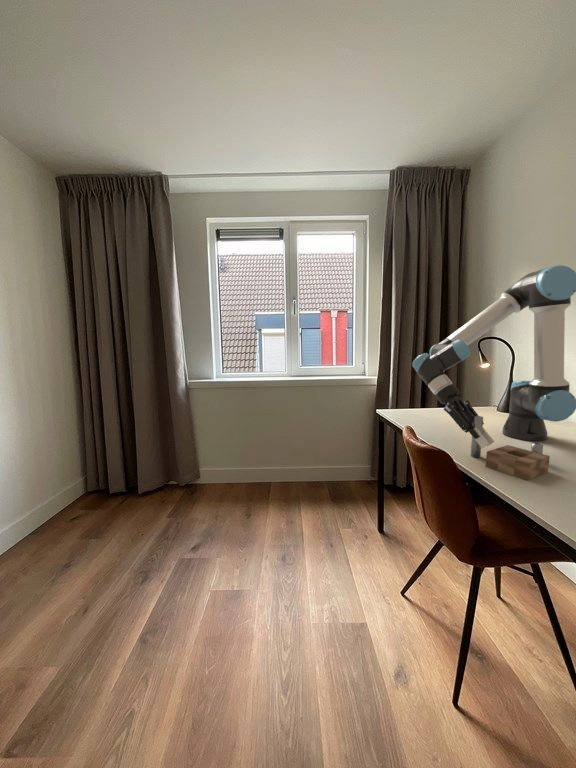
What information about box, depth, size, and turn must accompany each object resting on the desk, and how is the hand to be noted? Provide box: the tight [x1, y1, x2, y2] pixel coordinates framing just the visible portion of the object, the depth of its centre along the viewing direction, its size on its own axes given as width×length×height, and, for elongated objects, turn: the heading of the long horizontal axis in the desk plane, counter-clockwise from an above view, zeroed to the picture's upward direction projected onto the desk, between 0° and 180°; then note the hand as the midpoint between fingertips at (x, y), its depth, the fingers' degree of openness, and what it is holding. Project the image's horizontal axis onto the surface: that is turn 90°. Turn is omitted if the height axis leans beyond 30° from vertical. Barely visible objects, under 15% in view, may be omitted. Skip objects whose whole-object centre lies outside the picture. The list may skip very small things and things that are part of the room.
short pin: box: [530, 442, 544, 454], centre depth 109 cm, size 3×3×6 cm
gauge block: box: [485, 444, 550, 481], centre depth 103 cm, size 12×12×5 cm
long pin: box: [470, 415, 484, 459], centre depth 114 cm, size 3×3×14 cm
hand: (488, 444), depth 111 cm, fingers closed on long pin, 3 cm apart
